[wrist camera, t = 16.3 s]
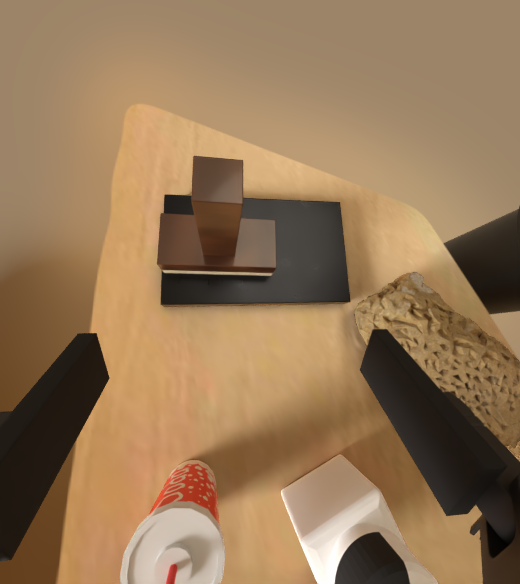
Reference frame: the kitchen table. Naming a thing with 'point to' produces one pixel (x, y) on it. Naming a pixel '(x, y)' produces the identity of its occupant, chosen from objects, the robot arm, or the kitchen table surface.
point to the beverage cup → (179, 533)
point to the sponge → (449, 351)
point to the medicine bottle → (349, 529)
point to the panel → (289, 253)
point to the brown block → (217, 227)
